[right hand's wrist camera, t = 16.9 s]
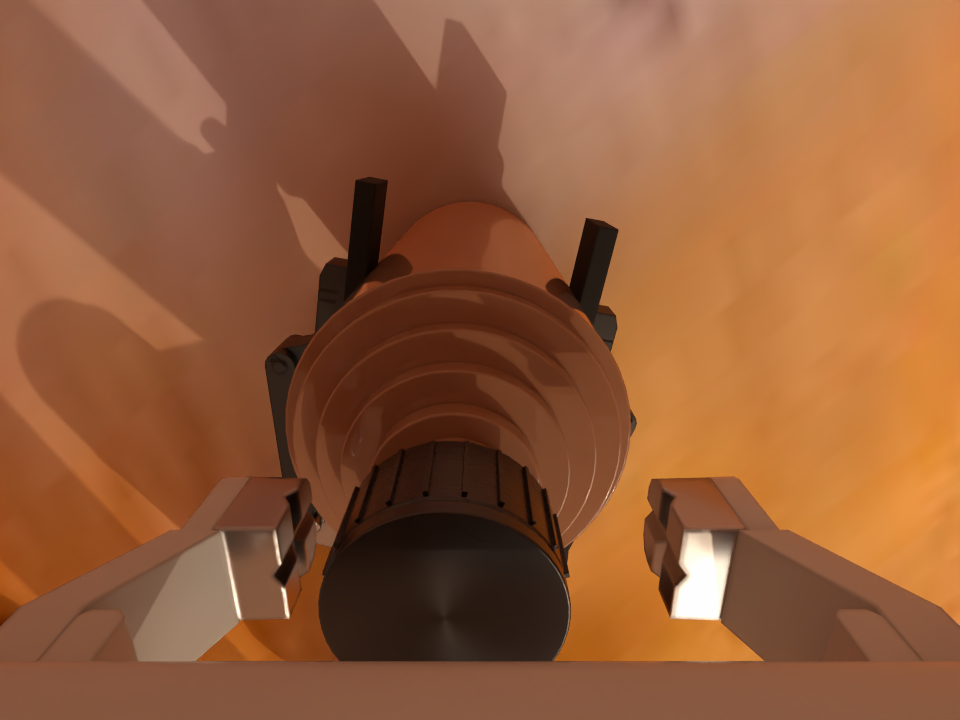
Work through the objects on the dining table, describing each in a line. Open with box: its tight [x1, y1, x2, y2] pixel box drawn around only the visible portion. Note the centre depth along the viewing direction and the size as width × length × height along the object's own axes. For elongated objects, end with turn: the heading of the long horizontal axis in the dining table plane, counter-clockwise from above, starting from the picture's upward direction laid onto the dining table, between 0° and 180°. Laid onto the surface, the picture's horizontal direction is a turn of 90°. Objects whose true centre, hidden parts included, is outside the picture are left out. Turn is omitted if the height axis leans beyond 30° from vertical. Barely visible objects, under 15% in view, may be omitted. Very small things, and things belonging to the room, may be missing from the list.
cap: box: [318, 440, 571, 661], centre depth 9 cm, size 4×4×2 cm
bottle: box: [286, 202, 631, 548], centre depth 19 cm, size 8×8×22 cm
